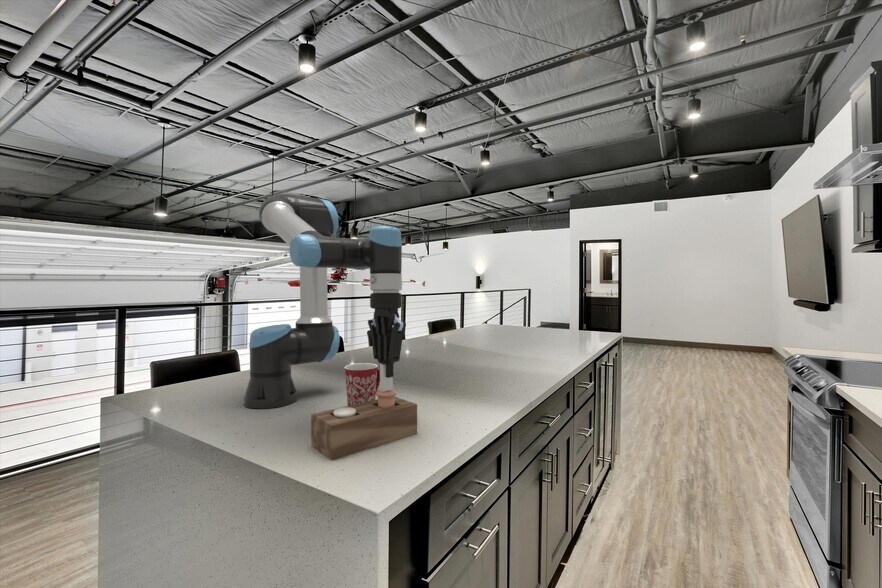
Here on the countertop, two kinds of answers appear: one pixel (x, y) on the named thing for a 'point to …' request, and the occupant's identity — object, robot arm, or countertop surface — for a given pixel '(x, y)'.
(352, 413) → the cream plug
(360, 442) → the walnut block
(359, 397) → the mug
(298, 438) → the countertop surface
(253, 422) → the countertop surface
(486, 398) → the countertop surface
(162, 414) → the countertop surface
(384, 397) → the terracotta plug
